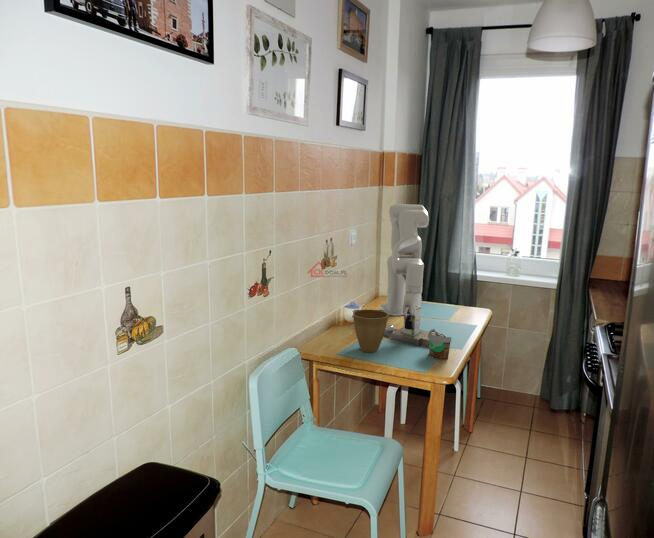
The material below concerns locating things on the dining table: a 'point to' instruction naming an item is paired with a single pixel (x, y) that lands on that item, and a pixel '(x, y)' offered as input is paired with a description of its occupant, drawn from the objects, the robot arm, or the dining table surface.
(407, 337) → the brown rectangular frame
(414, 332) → the syrup box
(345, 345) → the dining table surface
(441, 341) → the food container
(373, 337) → the plant pot
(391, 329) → the plate with dome knob
